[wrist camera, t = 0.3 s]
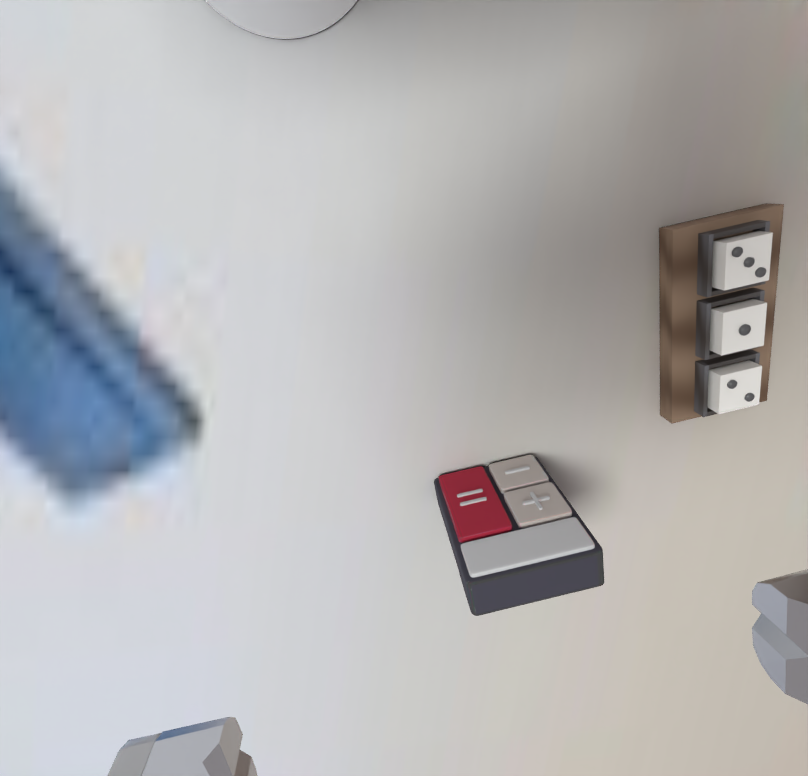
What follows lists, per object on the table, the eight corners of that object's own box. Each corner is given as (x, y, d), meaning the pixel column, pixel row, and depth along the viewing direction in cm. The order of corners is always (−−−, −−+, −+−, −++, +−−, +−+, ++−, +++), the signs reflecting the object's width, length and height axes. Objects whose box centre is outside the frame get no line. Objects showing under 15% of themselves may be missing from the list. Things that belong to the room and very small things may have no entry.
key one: (711, 308, 46) (724, 313, 44) (753, 298, 46) (768, 303, 44) (709, 350, 47) (723, 356, 46) (750, 340, 48) (765, 346, 46)
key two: (708, 369, 48) (722, 376, 46) (749, 360, 48) (763, 366, 47) (707, 407, 50) (720, 415, 48) (746, 397, 50) (760, 405, 48)
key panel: (659, 227, 46) (682, 231, 42) (765, 203, 46) (797, 205, 43) (660, 414, 53) (680, 429, 50) (751, 392, 53) (777, 406, 50)
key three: (713, 241, 43) (728, 243, 42) (758, 230, 44) (774, 232, 42) (711, 287, 45) (726, 291, 43) (754, 276, 45) (770, 280, 44)
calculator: (535, 448, 53) (604, 543, 39) (538, 482, 54) (606, 585, 41) (431, 472, 52) (464, 576, 39) (438, 506, 54) (472, 618, 40)
